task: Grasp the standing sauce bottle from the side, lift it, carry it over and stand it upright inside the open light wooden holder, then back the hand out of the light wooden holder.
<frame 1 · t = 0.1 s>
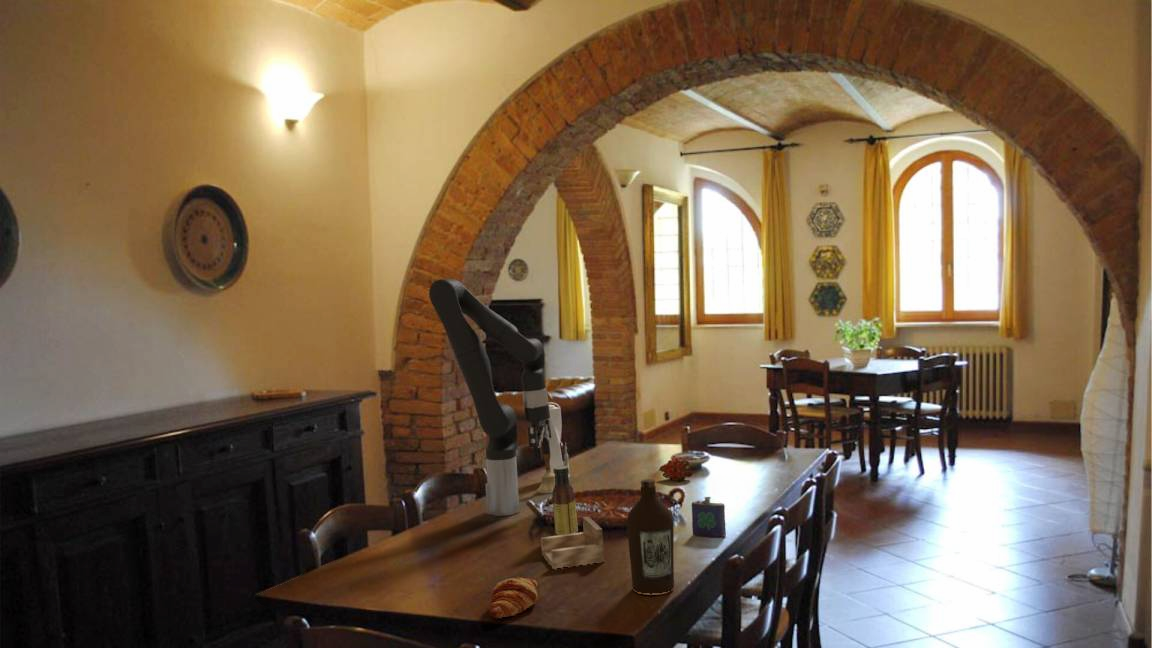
hand: (542, 457, 281), 17 cm above the table, tool pointing down, fingers open, 8 cm apart
light wooden holder: (572, 558, 236), on the table
hand bell: (549, 491, 310), on the table
dragon fruit: (676, 480, 315), on the table
skyscraper: (555, 480, 326), on the table
flask: (709, 536, 249), on the table
croissant: (516, 608, 204), on the table
sauce bottle: (566, 539, 254), on the table
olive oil: (653, 590, 210), on the table
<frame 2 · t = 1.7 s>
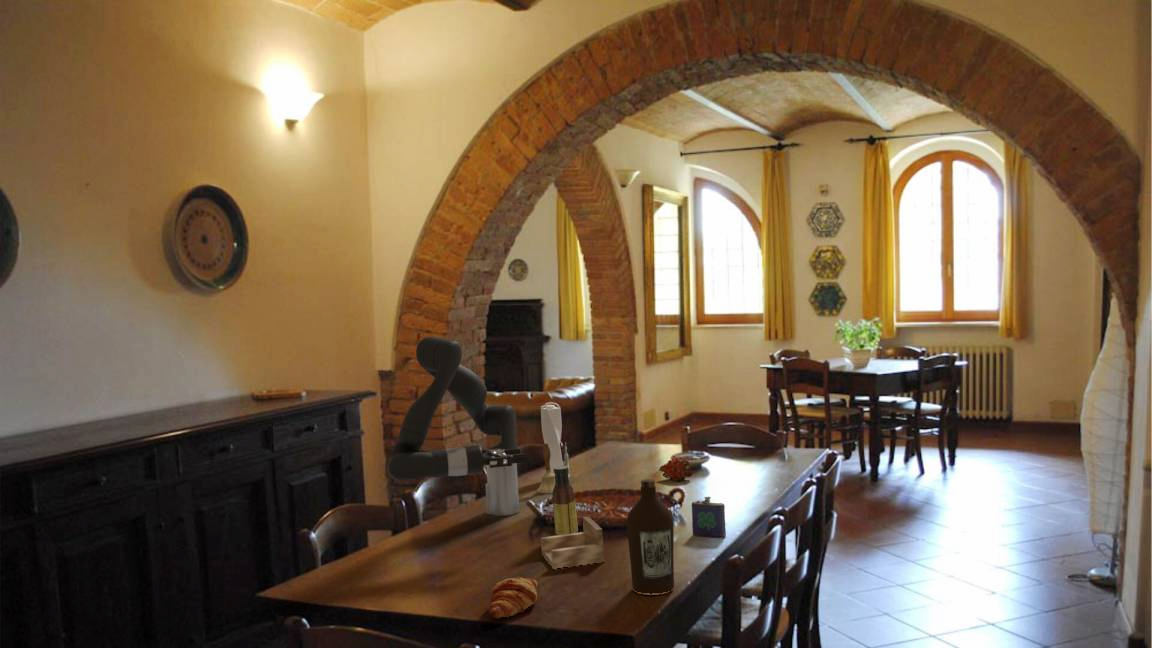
hand: (523, 455, 250), 24 cm above the table, tool horizontal, fingers open, 8 cm apart
nothing on the table moved.
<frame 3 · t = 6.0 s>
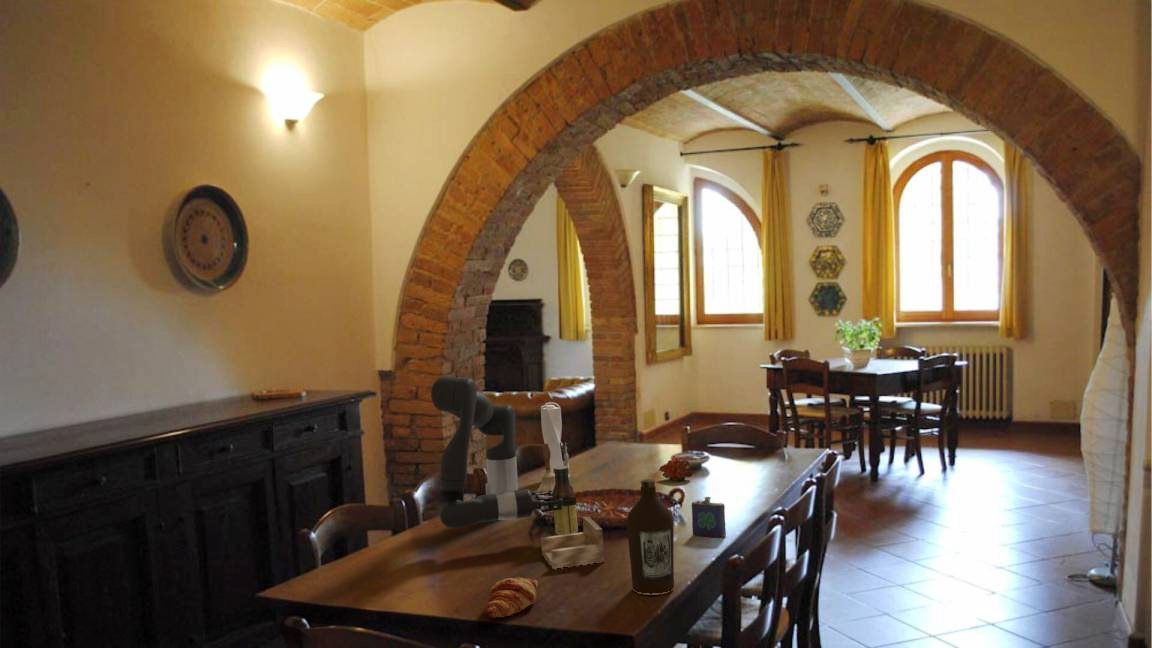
hand: (572, 497, 254), 11 cm above the table, tool horizontal, fingers closed on sauce bottle, 6 cm apart
sauce bottle: (566, 539, 254), on the table, touching gripper
everything else where it was.
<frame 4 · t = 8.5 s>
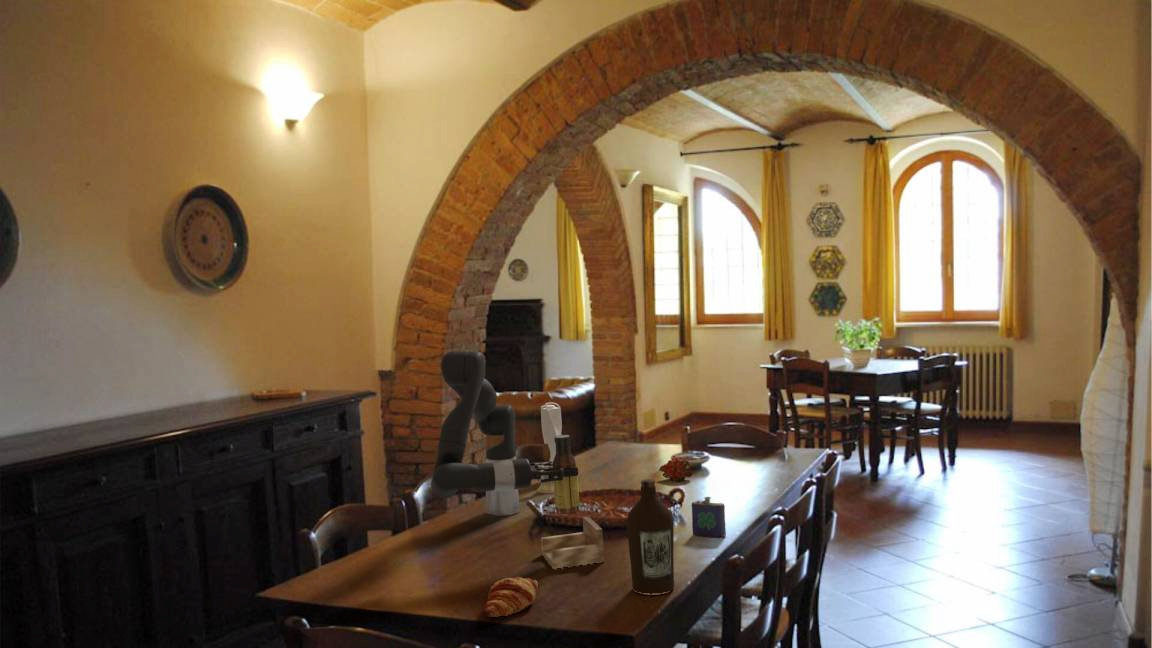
hand: (574, 468, 239), 22 cm above the table, tool horizontal, fingers closed on sauce bottle, 6 cm apart
sauce bottle: (567, 512, 239), point 11 cm above the table, touching gripper
everything else where it was.
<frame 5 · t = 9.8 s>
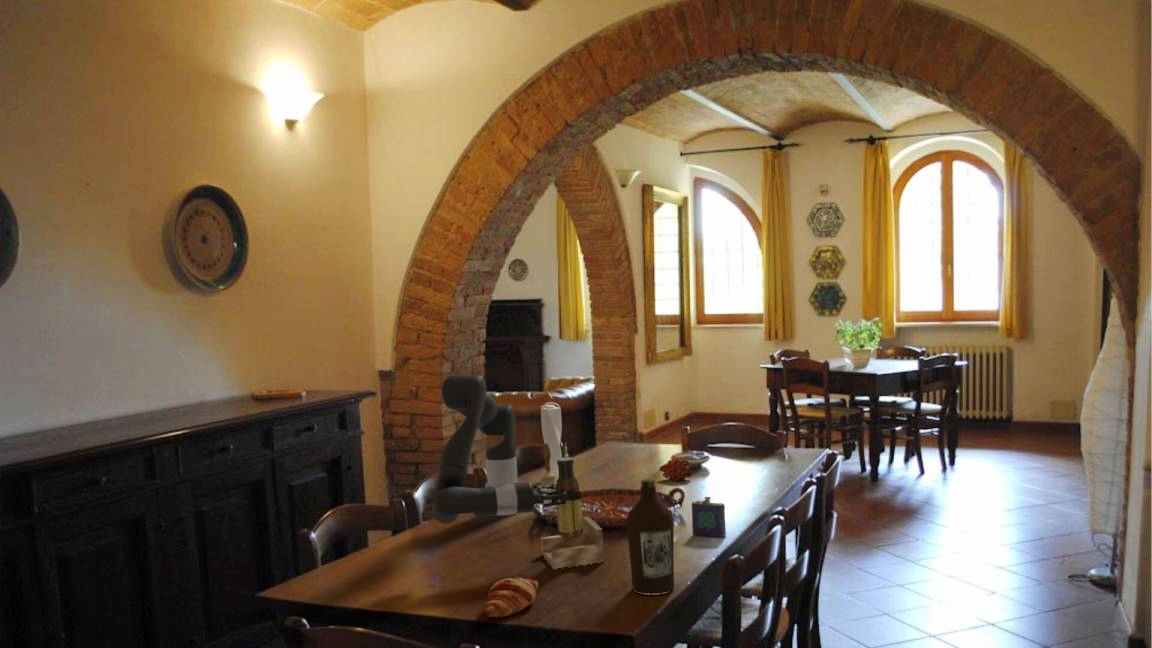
hand: (577, 491, 235), 17 cm above the table, tool horizontal, fingers closed on sauce bottle, 6 cm apart
sauce bottle: (570, 536, 235), point 6 cm above the table, touching gripper
everything else where it was.
when the fingers open (14 cm above the table, at t = 10.9 s): sauce bottle stays where it is, resting on light wooden holder.
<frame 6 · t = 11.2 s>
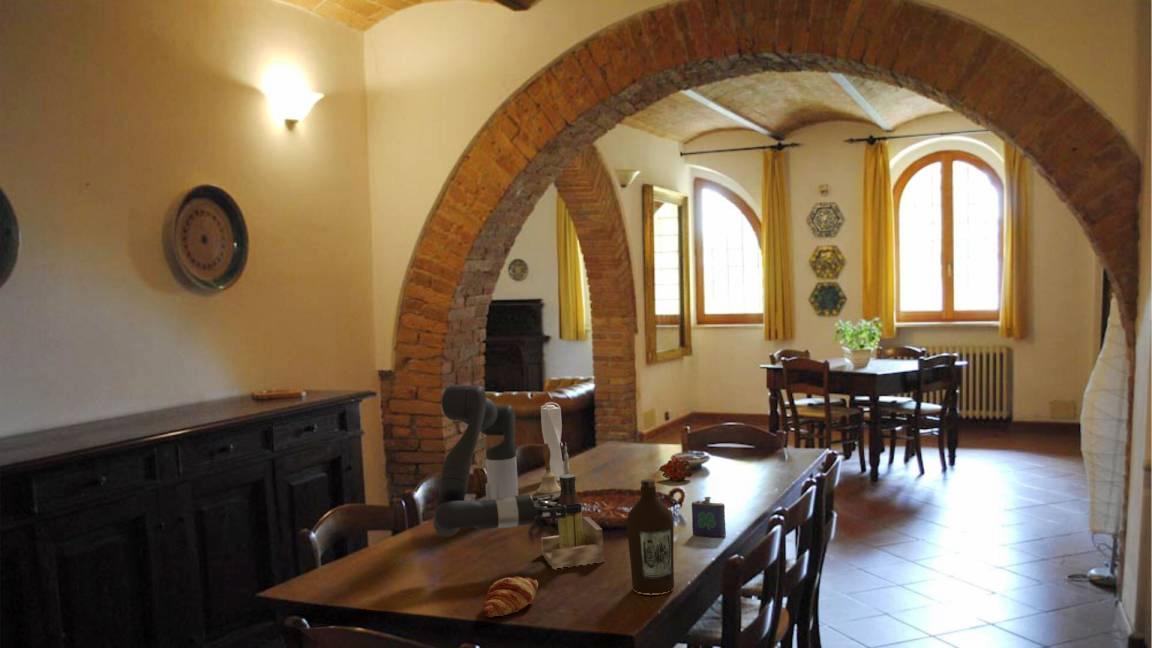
hand: (576, 503, 235), 14 cm above the table, tool horizontal, fingers open, 8 cm apart
sauce bottle: (571, 553, 236), point 1 cm above the table, touching light wooden holder
everything else where it was.
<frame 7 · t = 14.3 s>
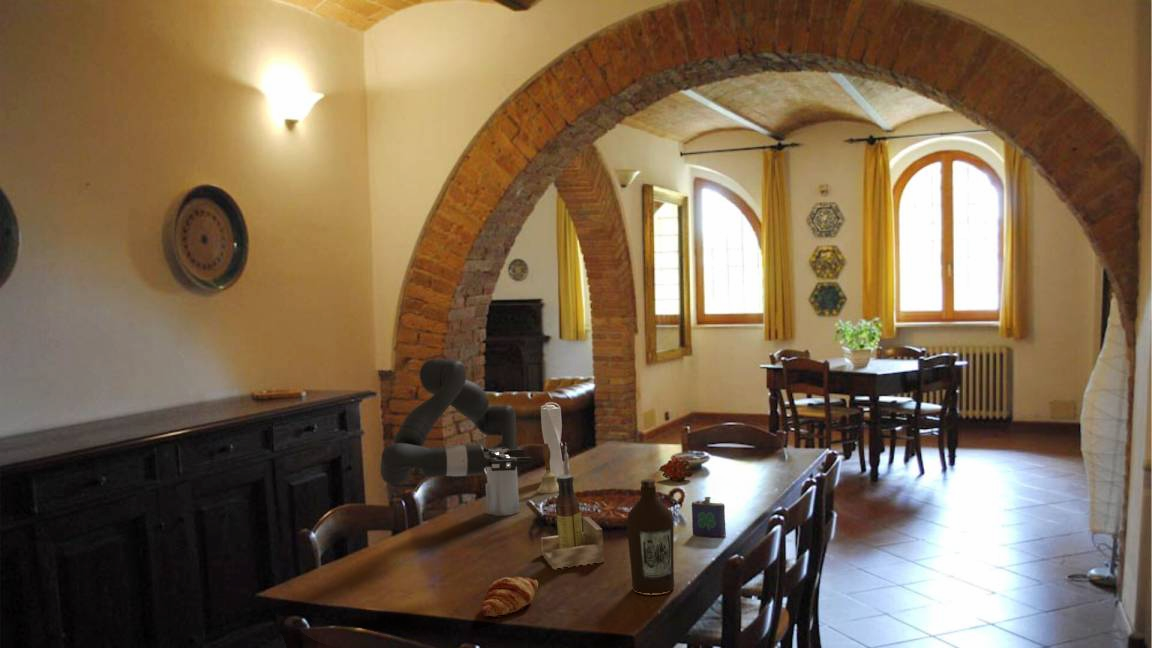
hand: (527, 457, 232), 27 cm above the table, tool horizontal, fingers open, 8 cm apart
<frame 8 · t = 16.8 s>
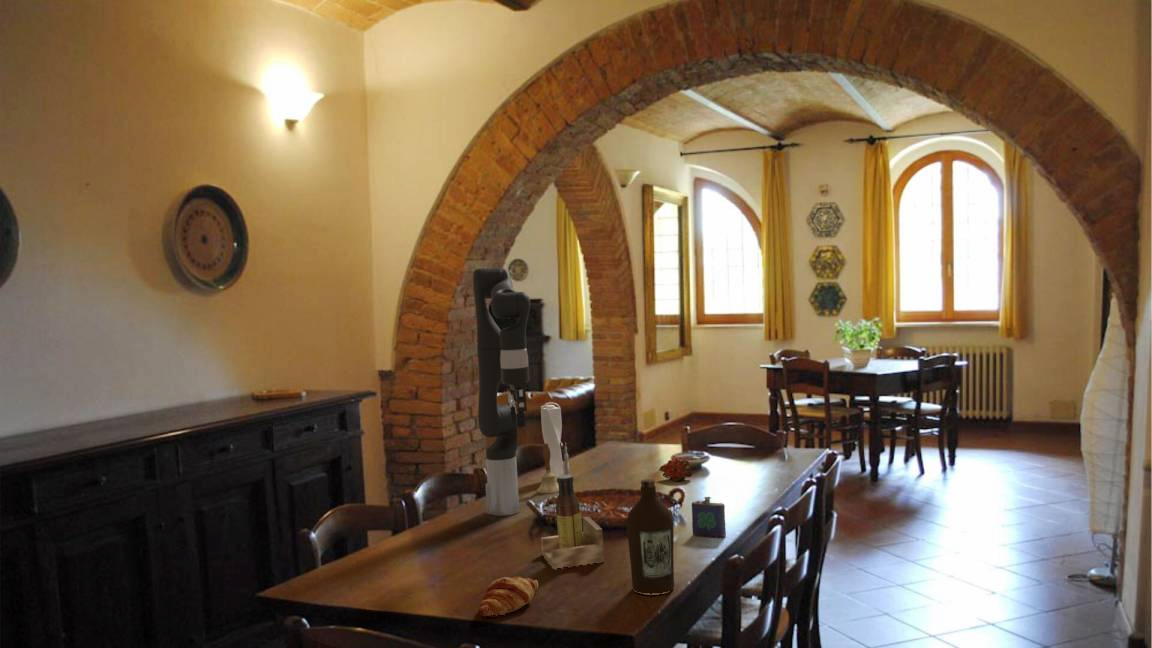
hand: (518, 424, 252), 32 cm above the table, tool pointing down, fingers open, 8 cm apart
at the end: sauce bottle inside the target area on the light wooden holder (0.2 cm from its centre), point 1.3 cm above the light wooden holder's base; sauce bottle tilted 0°; the gripper is holding nothing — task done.
